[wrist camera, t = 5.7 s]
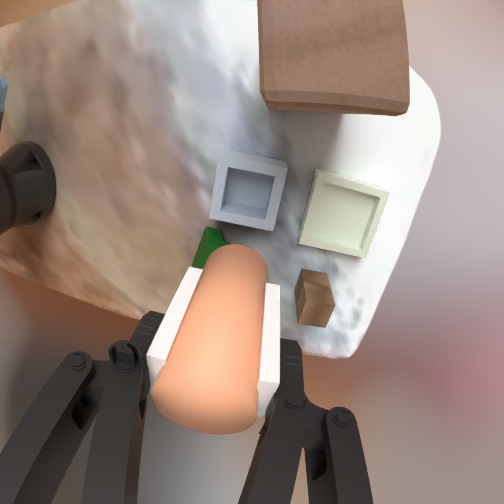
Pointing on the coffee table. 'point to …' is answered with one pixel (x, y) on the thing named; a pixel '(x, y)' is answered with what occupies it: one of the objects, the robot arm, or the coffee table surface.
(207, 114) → the coffee table surface
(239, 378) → the peach rounded rod
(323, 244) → the tray
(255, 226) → the socket
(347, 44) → the wooden block
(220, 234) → the clamp
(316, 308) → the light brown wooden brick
